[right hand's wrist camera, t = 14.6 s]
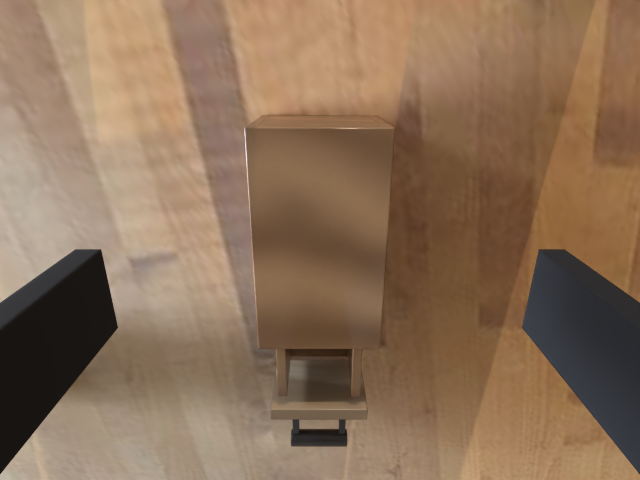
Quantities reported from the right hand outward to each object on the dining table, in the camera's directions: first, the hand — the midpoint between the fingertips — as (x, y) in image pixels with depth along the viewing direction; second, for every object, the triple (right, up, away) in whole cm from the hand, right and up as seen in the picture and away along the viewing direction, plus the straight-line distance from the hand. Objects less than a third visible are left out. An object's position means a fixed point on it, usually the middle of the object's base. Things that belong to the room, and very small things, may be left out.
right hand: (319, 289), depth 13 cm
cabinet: (0, +4, +26) cm, 26 cm away
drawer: (0, -7, +30) cm, 31 cm away
